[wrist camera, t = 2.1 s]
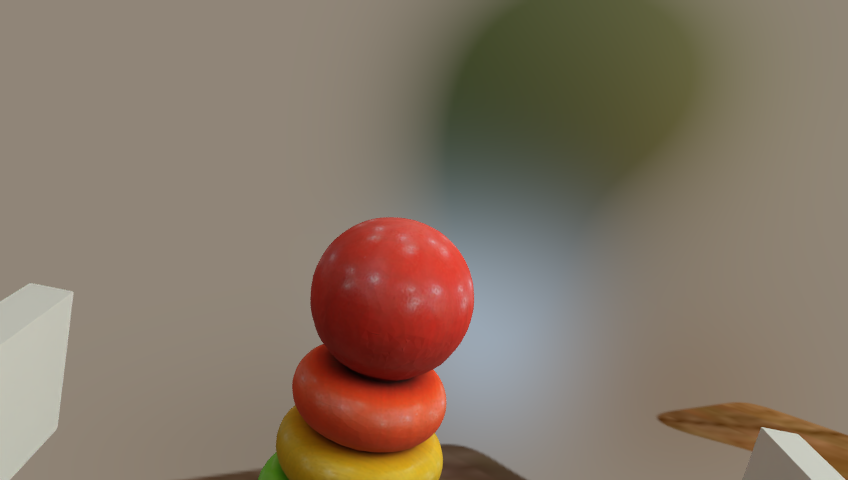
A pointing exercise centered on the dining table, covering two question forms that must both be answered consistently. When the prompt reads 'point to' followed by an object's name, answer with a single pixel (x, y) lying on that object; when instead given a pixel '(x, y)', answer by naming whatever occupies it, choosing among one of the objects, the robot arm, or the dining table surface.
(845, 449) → the dining table surface
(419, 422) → the stacking toy
